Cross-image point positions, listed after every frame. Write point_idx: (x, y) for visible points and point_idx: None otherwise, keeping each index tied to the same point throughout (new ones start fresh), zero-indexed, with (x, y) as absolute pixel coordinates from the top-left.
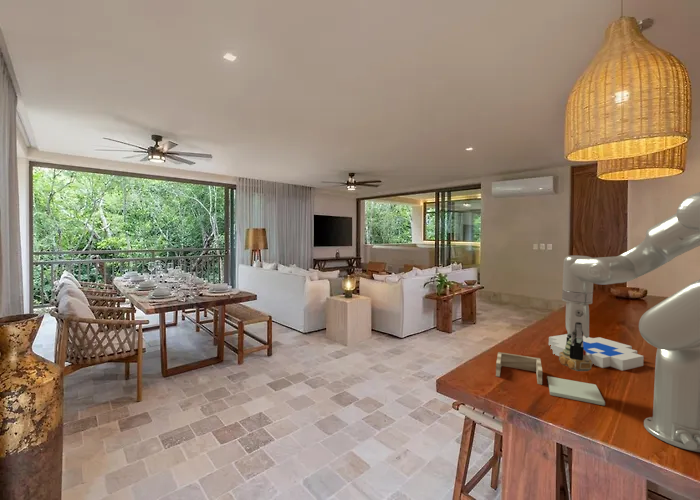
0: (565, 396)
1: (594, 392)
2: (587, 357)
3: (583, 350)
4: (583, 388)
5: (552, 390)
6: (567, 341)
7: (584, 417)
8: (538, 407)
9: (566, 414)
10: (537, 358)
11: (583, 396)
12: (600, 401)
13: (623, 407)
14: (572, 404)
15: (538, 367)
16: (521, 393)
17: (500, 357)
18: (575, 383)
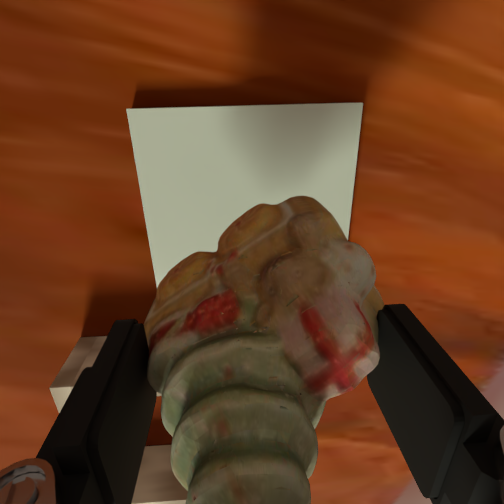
0: None
1: (256, 135)
2: (370, 274)
3: (366, 348)
4: (229, 182)
5: None
6: (136, 478)
7: (496, 203)
8: (455, 334)
9: (485, 259)
10: (62, 397)
11: (334, 194)
12: (360, 123)
13: (339, 3)
14: (392, 234)
15: None
16: (362, 379)
17: (170, 501)
18: (180, 213)
